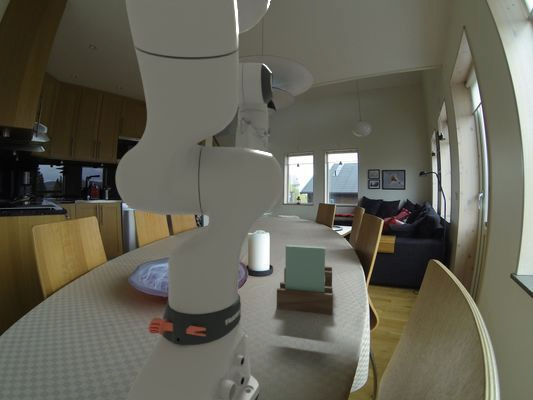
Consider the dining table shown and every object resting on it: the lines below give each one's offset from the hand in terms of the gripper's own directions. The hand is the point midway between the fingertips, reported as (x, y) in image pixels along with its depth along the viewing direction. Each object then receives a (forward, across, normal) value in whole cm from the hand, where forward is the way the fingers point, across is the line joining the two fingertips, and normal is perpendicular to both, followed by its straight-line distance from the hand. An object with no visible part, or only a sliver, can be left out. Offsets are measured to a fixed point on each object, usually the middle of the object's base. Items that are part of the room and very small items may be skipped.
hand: (252, 172), depth 75 cm
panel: (+36, -5, -16) cm, 39 cm away
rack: (+37, 0, -16) cm, 40 cm away
